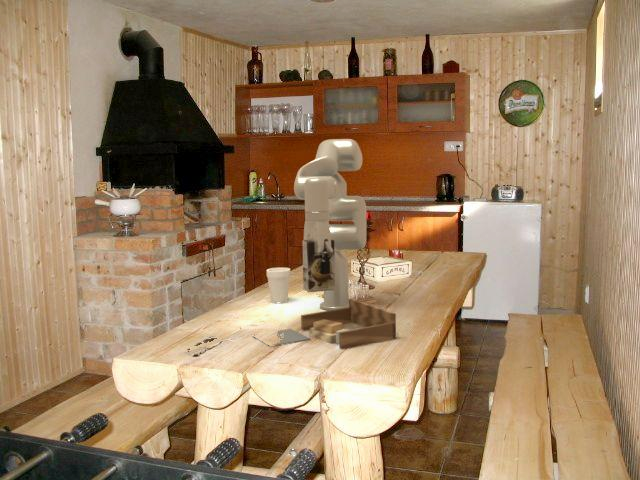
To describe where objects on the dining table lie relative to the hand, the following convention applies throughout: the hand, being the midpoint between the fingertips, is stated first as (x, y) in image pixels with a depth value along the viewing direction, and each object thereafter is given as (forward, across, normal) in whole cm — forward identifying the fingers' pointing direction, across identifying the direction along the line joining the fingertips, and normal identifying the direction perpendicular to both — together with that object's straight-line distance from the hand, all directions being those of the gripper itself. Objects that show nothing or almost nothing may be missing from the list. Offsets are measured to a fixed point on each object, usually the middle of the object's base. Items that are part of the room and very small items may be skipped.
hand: (318, 271), depth 208 cm
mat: (+21, -5, -12) cm, 25 cm away
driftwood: (+22, -11, -35) cm, 43 cm away
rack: (+21, +4, +8) cm, 23 cm away
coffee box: (+6, 0, 0) cm, 6 cm away
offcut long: (+21, +4, 0) cm, 22 cm away
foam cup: (+21, -51, +12) cm, 56 cm away
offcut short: (+18, +4, 0) cm, 19 cm away
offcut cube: (+21, +12, +1) cm, 24 cm away
